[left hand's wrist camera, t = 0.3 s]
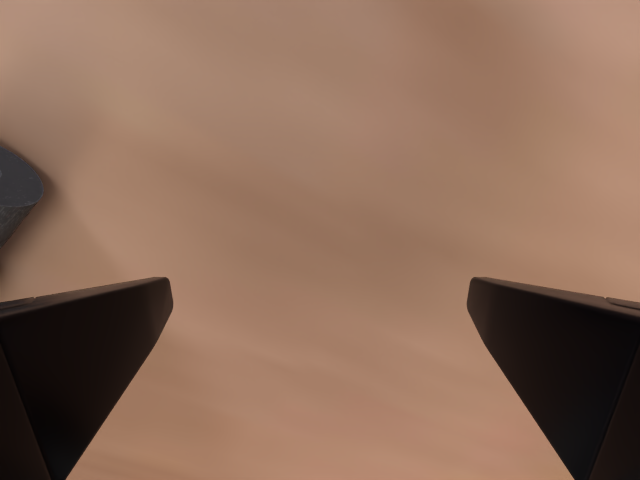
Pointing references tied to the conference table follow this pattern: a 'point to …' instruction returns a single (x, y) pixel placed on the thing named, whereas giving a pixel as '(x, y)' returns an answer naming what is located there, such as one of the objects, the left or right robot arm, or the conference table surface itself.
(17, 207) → the laser sight
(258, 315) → the conference table surface
